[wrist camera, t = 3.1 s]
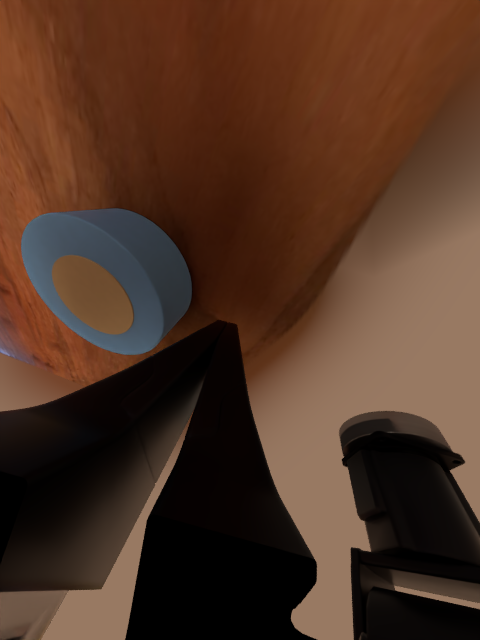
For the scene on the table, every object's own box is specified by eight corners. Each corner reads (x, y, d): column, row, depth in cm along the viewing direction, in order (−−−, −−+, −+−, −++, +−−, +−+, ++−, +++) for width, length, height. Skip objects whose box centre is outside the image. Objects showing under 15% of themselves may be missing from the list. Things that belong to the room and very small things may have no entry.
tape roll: (193, 223, 9) (154, 234, 6) (192, 336, 13) (168, 370, 10) (63, 196, 10) (-17, 196, 7) (100, 311, 14) (57, 337, 11)
